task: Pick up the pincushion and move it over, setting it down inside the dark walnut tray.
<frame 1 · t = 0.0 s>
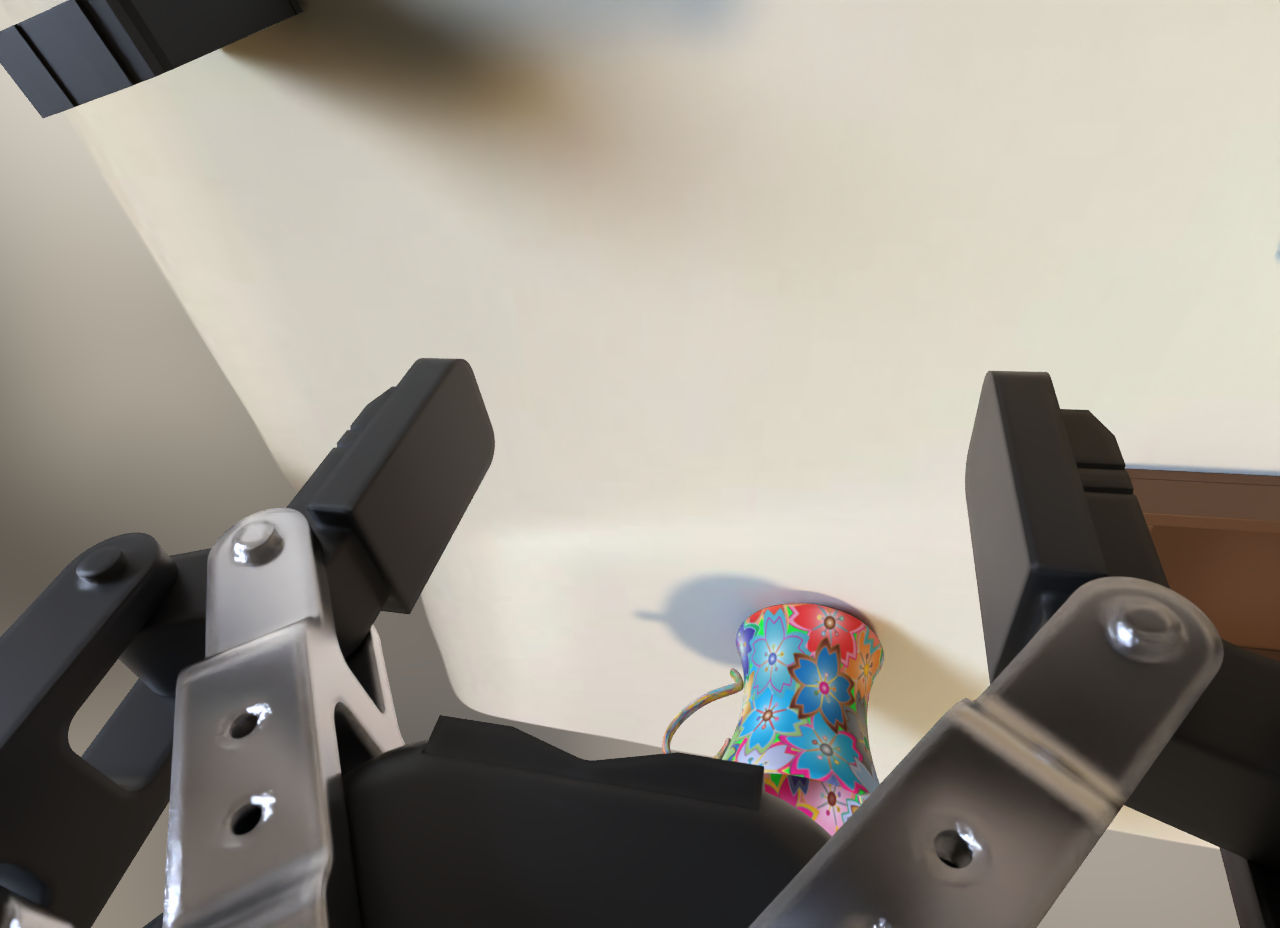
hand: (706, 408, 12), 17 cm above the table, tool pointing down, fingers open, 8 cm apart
mug: (786, 631, 44), on the table
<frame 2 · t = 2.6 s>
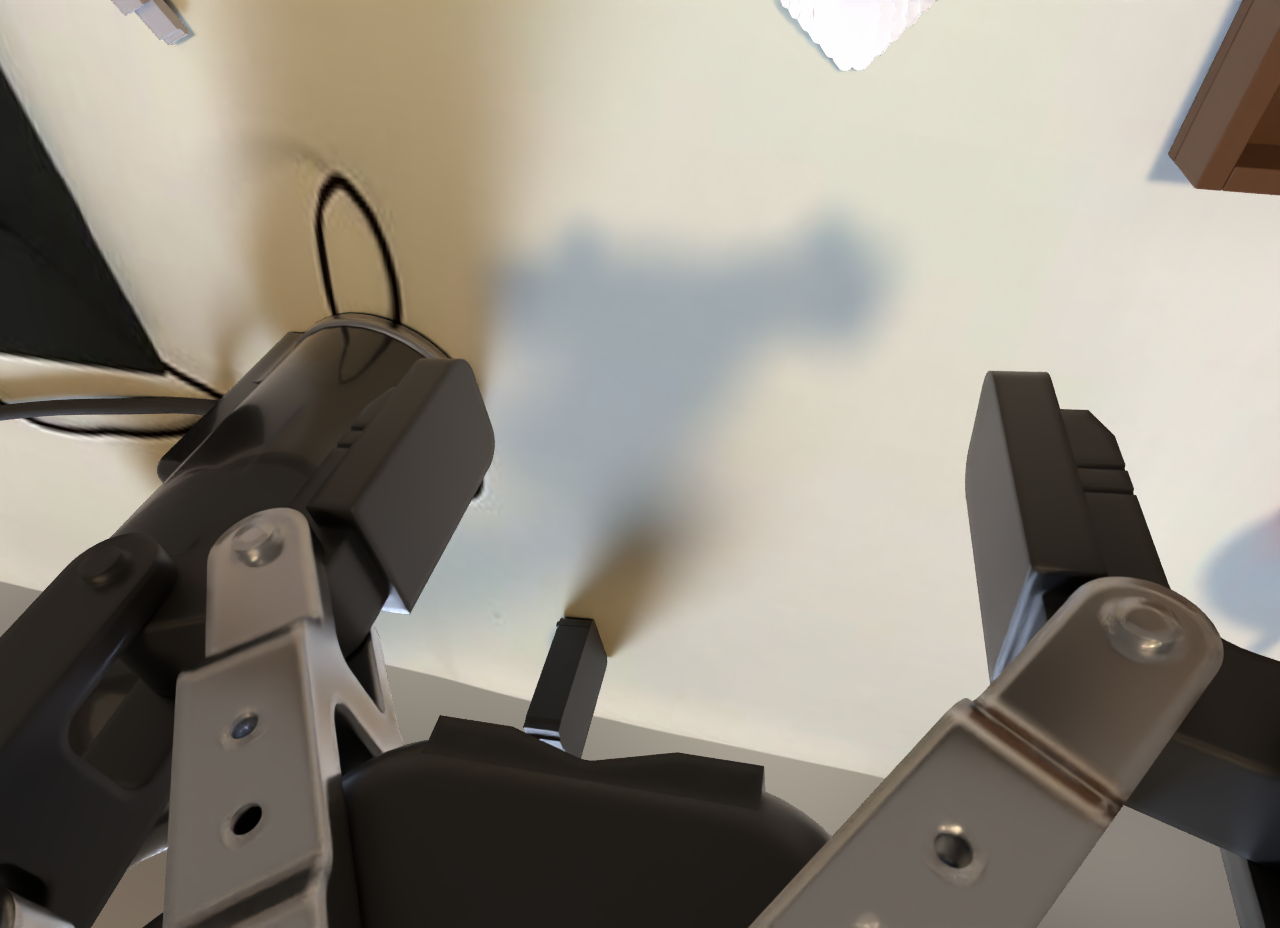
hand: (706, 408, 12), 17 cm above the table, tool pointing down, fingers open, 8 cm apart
ink cartridge: (585, 635, 49), on the table
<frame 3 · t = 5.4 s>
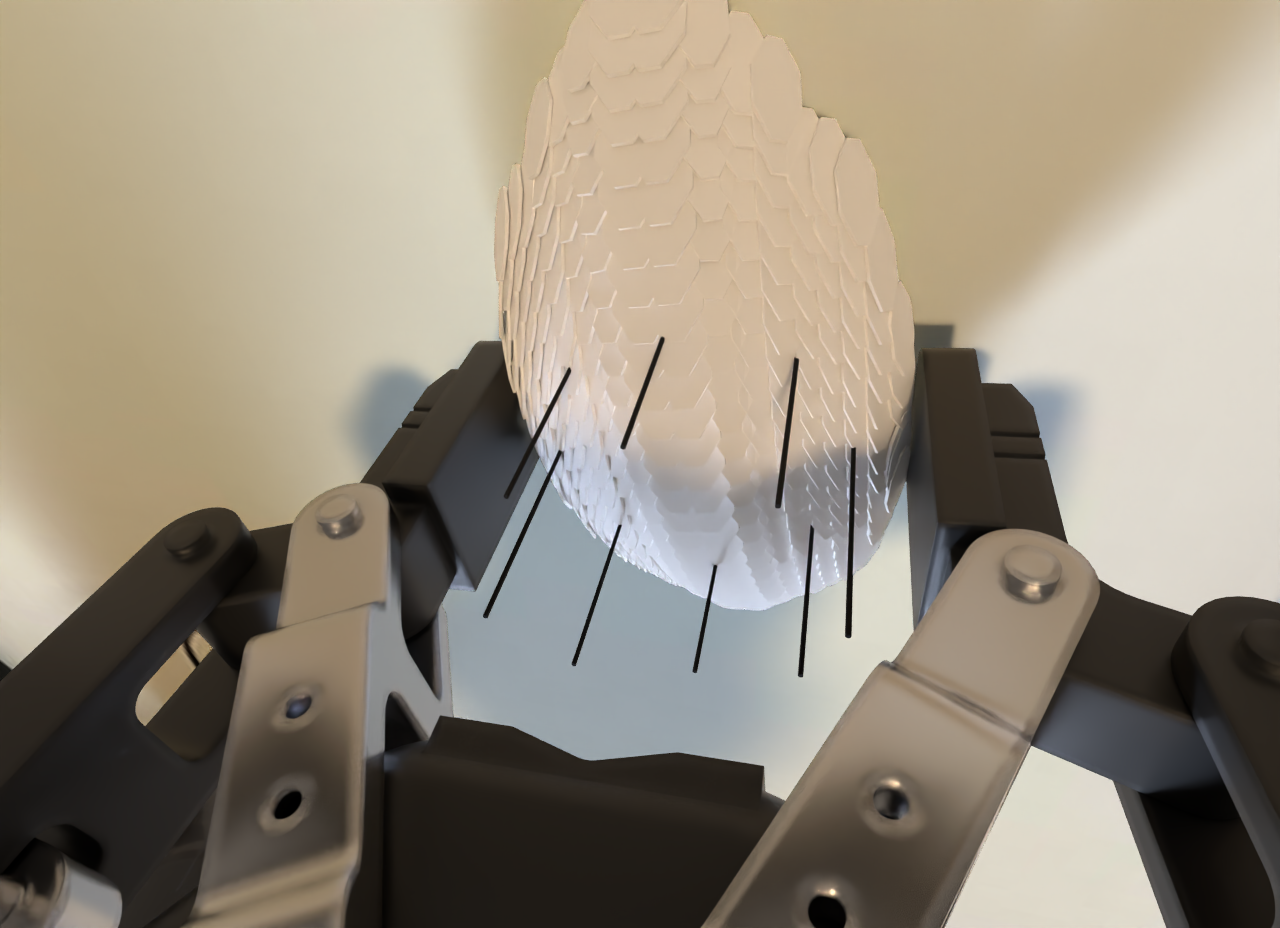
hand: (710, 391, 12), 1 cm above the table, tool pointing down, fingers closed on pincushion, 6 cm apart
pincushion: (722, 351, 13), on the table, touching gripper
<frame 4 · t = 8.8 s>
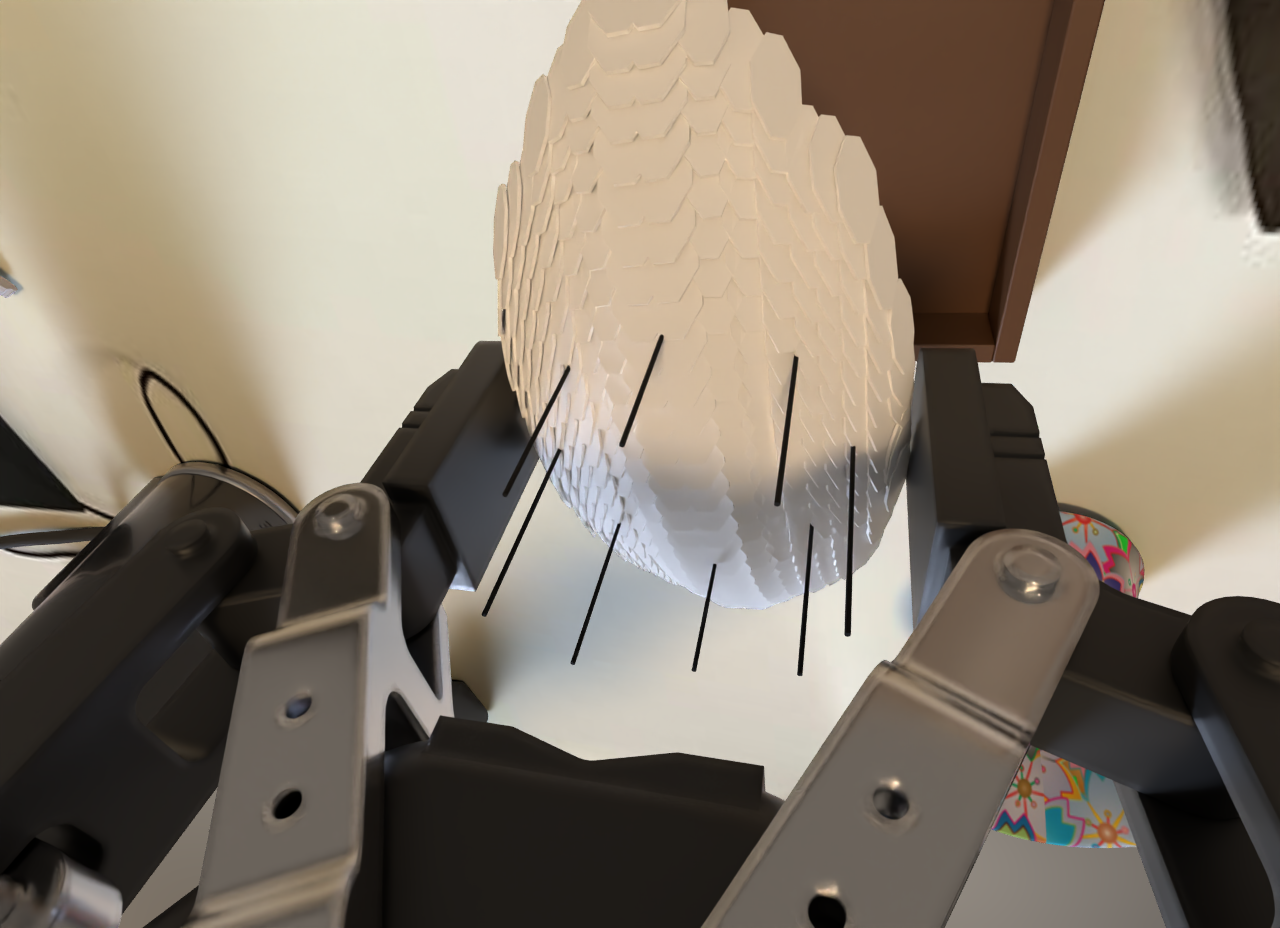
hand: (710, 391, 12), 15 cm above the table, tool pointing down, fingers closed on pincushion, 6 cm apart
tray: (849, 91, 22), on the table
ink cartridge: (464, 693, 56), on the table
mug: (1021, 577, 34), on the table
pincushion: (722, 350, 13), point 14 cm above the table, touching gripper
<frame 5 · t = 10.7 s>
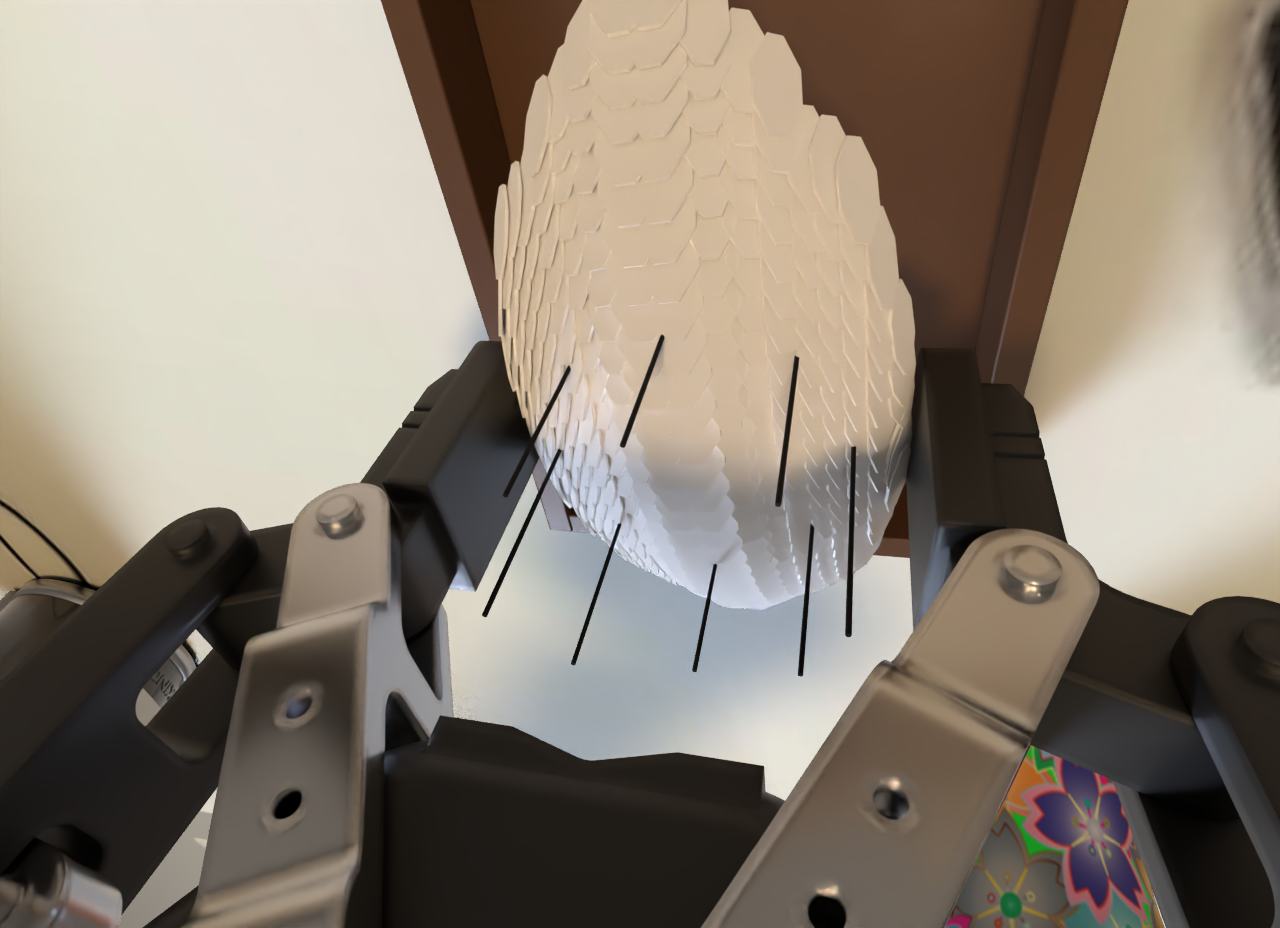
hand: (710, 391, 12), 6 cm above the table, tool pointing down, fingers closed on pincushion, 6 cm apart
tray: (749, 218, 16), on the table
mug: (1002, 749, 29), on the table
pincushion: (722, 350, 13), point 5 cm above the table, touching gripper
when the fingers open (2 cm above the table, at t = 12.7 s): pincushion stays where it is, resting on tray.
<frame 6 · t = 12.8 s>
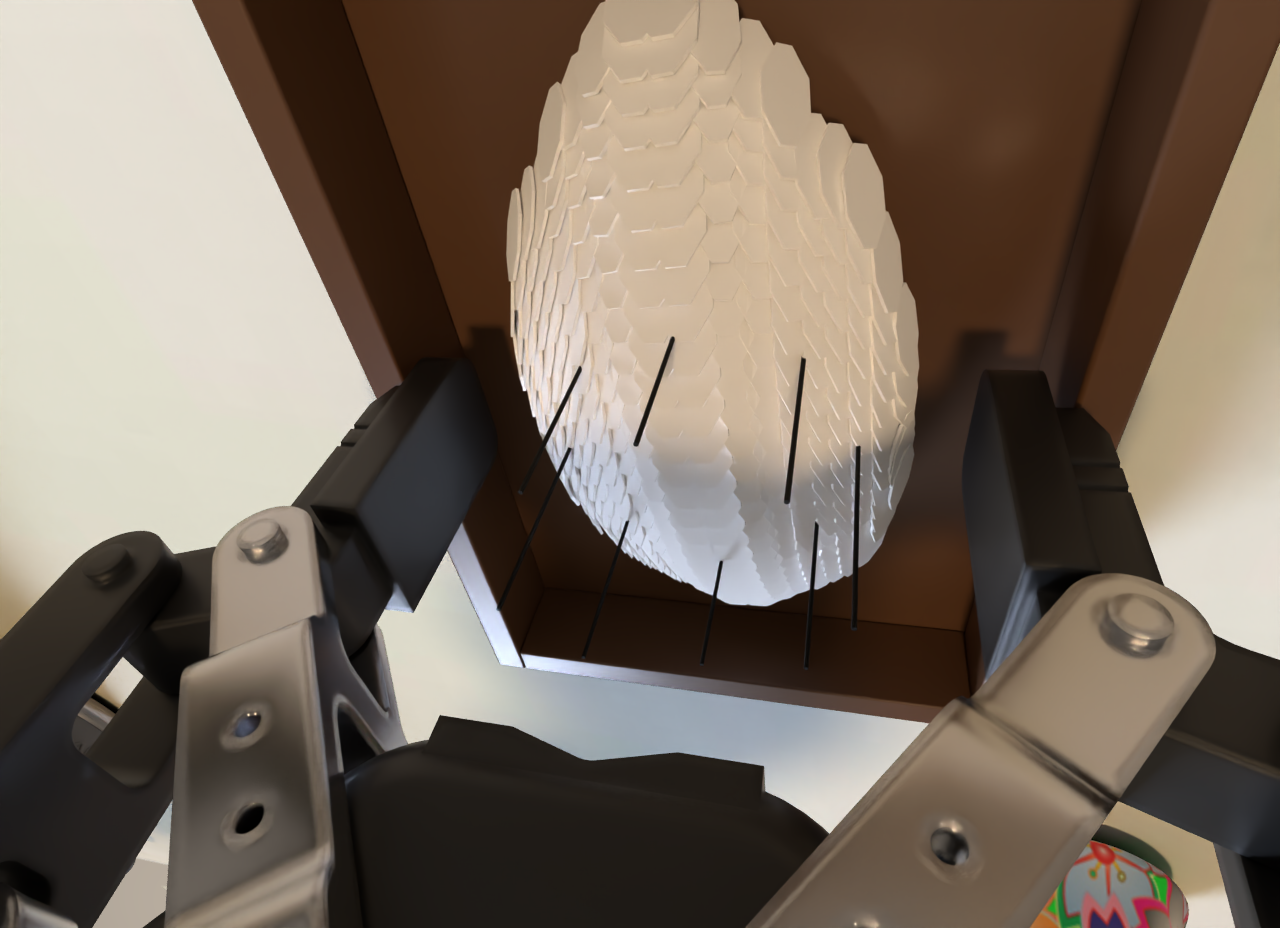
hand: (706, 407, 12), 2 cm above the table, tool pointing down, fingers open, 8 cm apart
tray: (727, 335, 13), on the table
mug: (1017, 871, 26), on the table
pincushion: (728, 351, 13), resting on tray
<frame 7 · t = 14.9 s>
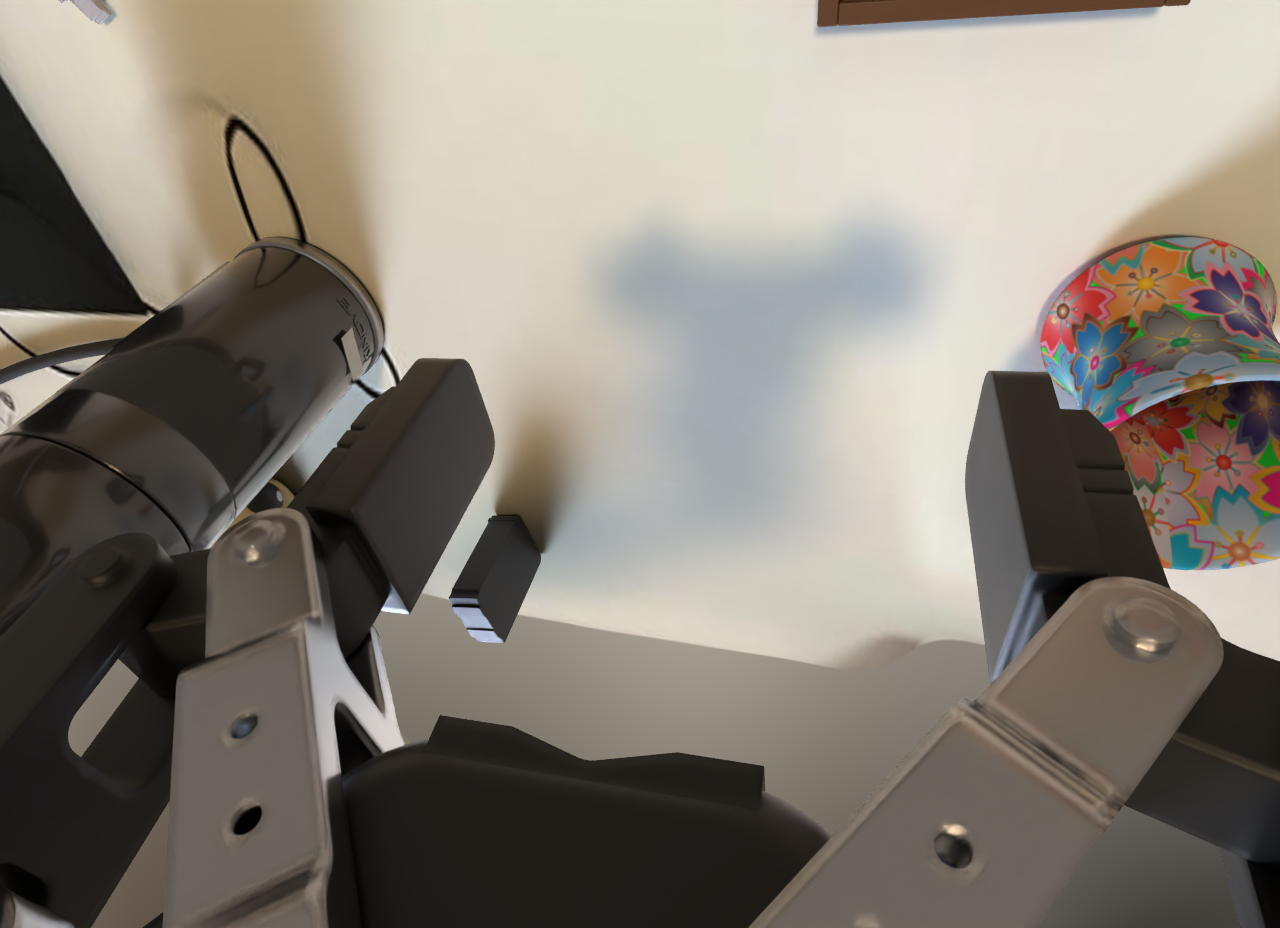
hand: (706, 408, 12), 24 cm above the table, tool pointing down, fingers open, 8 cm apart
ink cartridge: (518, 533, 55), on the table
toy pig: (257, 493, 60), on the table
mug: (1134, 341, 33), on the table
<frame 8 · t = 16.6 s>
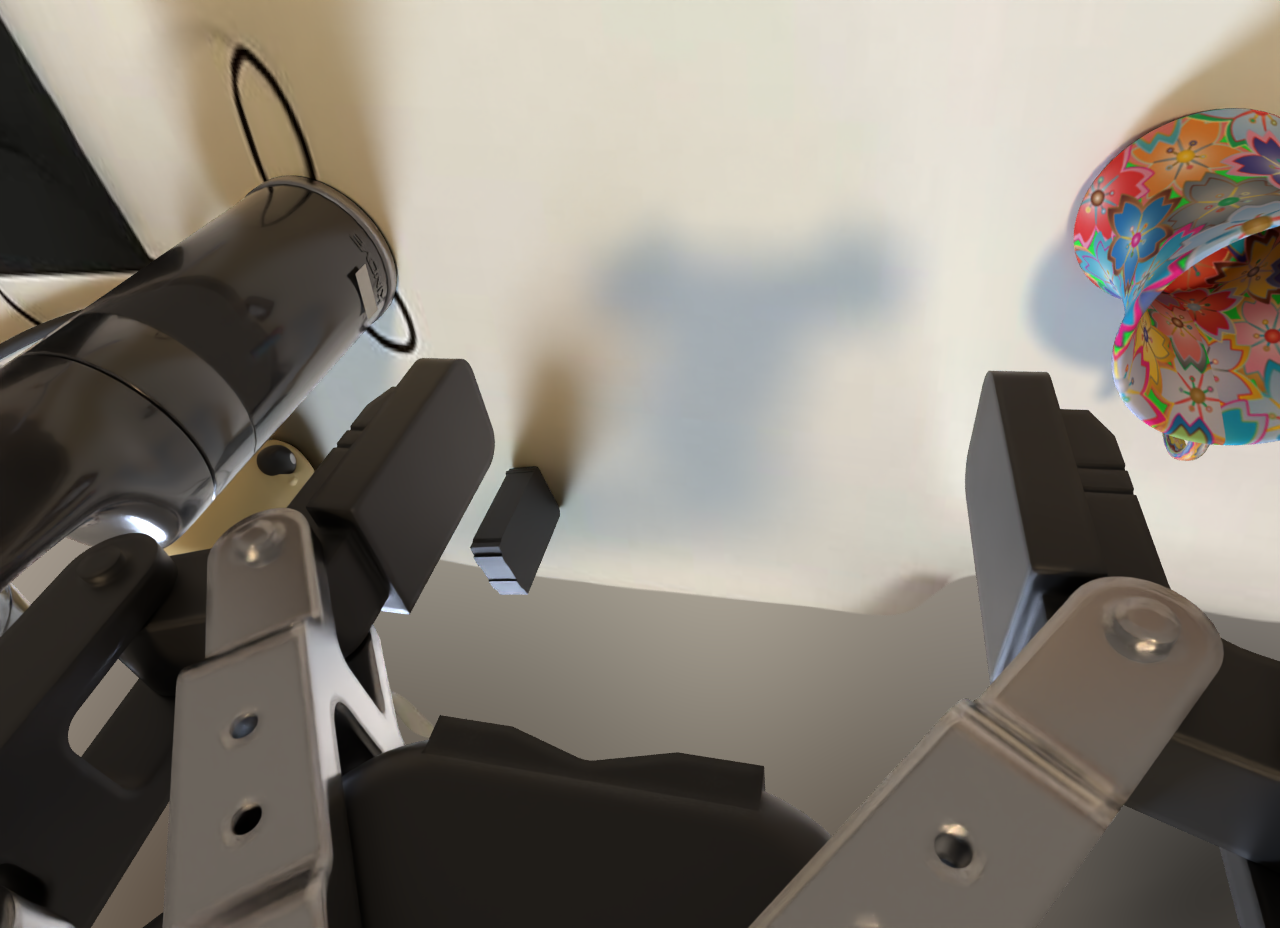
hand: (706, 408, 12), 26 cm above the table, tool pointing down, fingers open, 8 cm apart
ink cartridge: (536, 487, 54), on the table
toy pig: (269, 461, 59), on the table
mug: (1169, 232, 33), on the table
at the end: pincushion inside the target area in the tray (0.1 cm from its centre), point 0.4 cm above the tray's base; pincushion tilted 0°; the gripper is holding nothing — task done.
